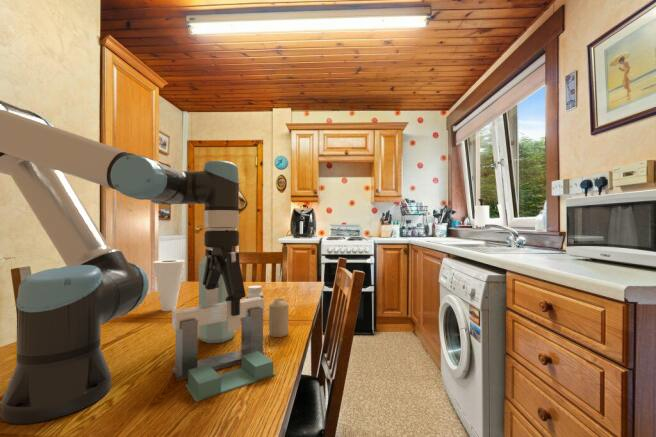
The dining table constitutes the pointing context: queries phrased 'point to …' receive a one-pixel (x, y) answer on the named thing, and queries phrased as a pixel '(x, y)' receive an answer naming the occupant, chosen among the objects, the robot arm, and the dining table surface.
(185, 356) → the stand
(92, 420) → the dining table surface
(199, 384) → the rest
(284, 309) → the candle
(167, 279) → the cup
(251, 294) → the pill bottle
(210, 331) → the water bottle
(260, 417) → the dining table surface
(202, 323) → the rail
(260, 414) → the dining table surface
